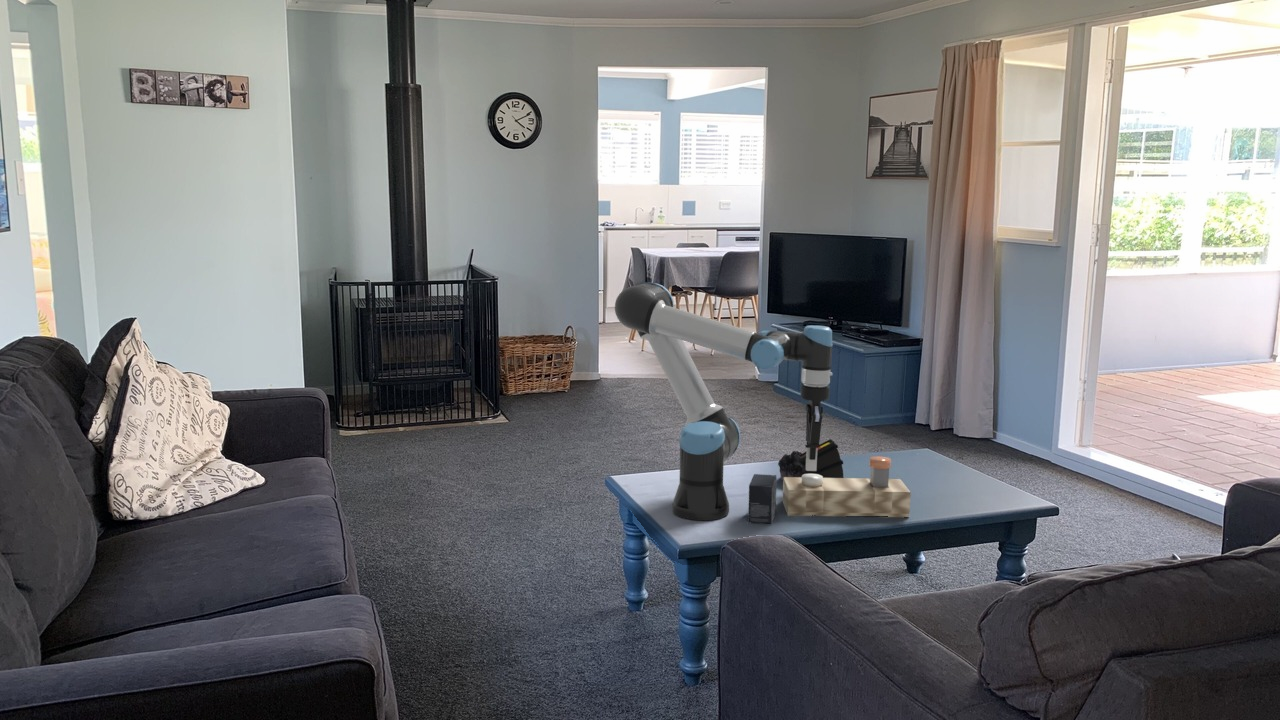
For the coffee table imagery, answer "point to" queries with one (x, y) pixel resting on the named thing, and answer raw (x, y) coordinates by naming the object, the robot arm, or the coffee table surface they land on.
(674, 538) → the coffee table surface
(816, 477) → the pale plunger
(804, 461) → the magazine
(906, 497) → the block
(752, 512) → the small box
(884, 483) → the terracotta plunger
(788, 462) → the black rock
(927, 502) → the coffee table surface
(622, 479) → the coffee table surface
